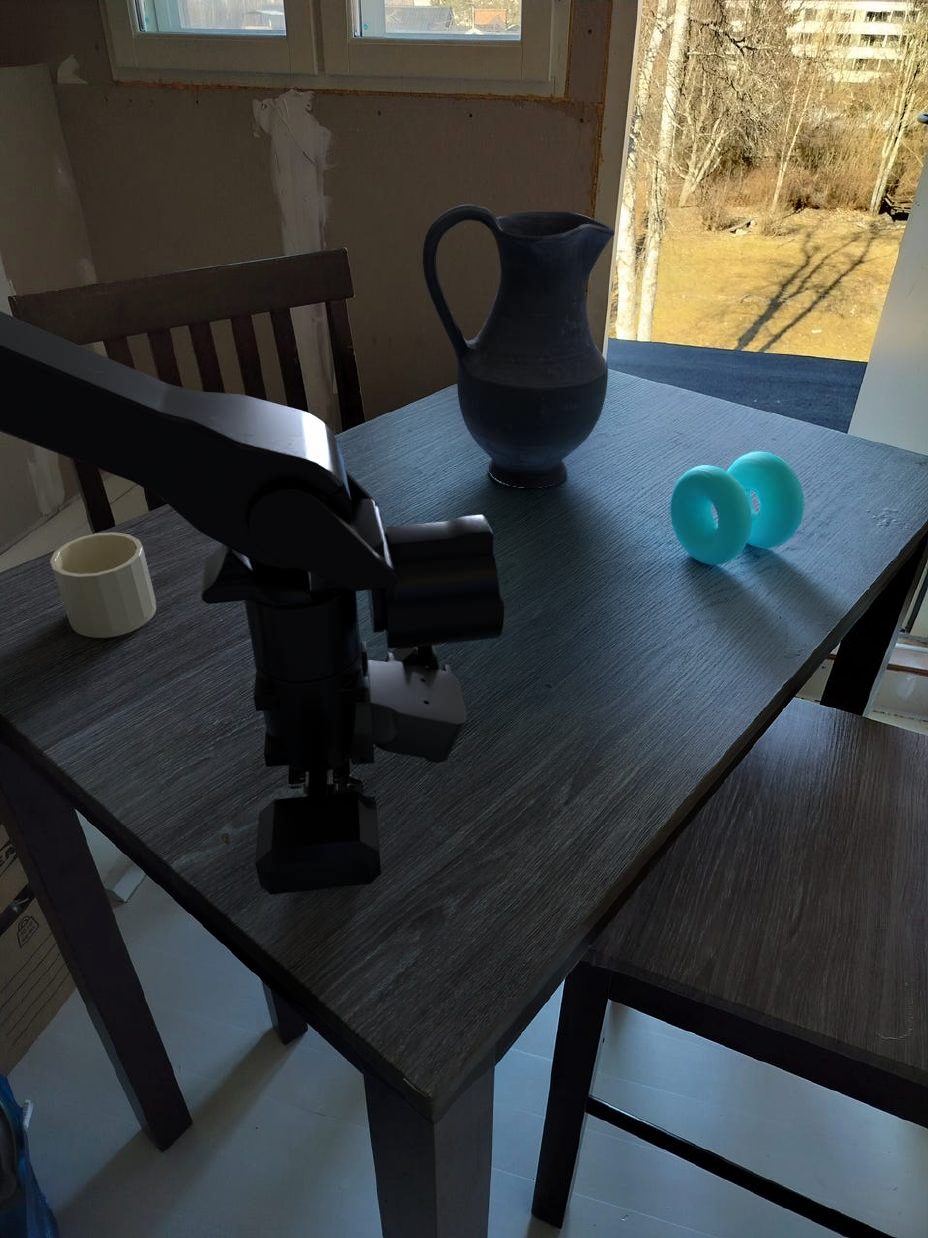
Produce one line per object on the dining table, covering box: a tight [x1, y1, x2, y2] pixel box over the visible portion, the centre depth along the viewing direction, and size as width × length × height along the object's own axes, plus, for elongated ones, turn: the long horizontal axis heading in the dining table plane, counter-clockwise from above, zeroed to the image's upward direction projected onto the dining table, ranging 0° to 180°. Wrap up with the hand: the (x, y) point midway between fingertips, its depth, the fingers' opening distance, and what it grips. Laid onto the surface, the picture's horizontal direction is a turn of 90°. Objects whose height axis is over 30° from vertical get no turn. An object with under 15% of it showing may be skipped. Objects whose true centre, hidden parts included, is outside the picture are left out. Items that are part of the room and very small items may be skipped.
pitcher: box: [422, 204, 615, 489], centre depth 95 cm, size 17×21×30 cm
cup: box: [49, 531, 157, 639], centre depth 77 cm, size 8×8×6 cm
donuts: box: [669, 451, 805, 566], centre depth 86 cm, size 10×10×10 cm
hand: (331, 842), depth 55 cm, fingers closed on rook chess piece, 4 cm apart
